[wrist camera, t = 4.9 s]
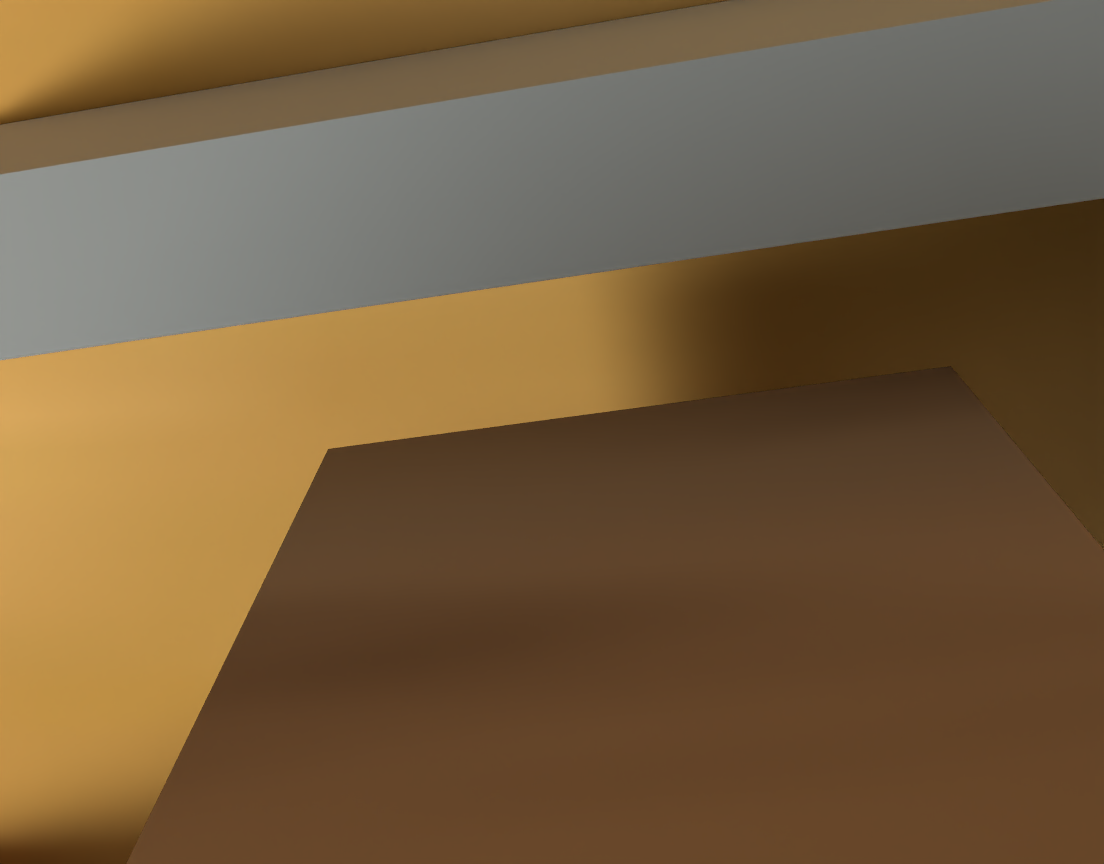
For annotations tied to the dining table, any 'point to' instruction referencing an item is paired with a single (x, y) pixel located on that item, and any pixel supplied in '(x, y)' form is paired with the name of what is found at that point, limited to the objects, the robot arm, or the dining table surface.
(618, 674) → the walnut block
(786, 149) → the tray bay
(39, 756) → the dining table surface
